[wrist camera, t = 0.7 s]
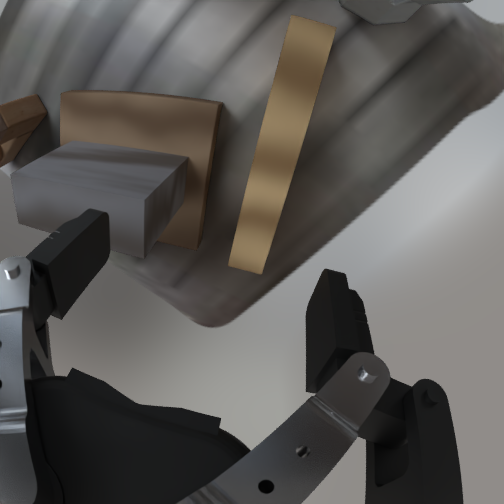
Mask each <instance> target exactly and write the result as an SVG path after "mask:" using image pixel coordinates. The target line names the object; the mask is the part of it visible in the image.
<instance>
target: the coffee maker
mask: <svg viewBox="0 0 504 504" xmlns="http://www.w3.org/2000/svg"><path fill="white" fill-rule="evenodd" d="M471 1H473V0H339V2H340V4H341V6H342V7H344V8H345V9H347V10H349V11H351V12H352V13H354V14H356V15H358V16H359V17H361V18H363V19H364V20H366V21H367V22H369V23H371V24H372V25H379V24H389V23H403V22H406V21H407V20H408V19H409V18H410V17H411V16H412V15H413V14H414V13H415V12H416V11H417V10H418V9H419V8H420V7H421V6H422V5H424V4H437V3H461V2H467V3H468V2H471Z"/></svg>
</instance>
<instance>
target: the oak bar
mask: <svg viewBox="0 0 504 504" xmlns="http://www.w3.org/2000/svg"><path fill="white" fill-rule="evenodd" d="M335 31H336V27H333V26H330V25H327V24H324V23H320V22H317V21H313V20H310V19H306V18H302V17H298V16H294V15H291V18H290V22H289V26H288V29H287V33H286V36H285V40H284V44H283V47H282V51H281V55H280V58H279V62H278V66H277V70H276V73H275V77H274V81H273V85H272V88H271V92H270V96H269V100H268V104H267V108H266V111H265V115H264V119H263V123H262V127H261V131H260V135H259V139H258V143H257V147H256V151H255V155H254V159H253V163H252V167H251V171H250V175H249V179H248V183H247V187H246V191H245V195H244V199H243V203H242V208H241V212H240V216H239V220H238V224H237V229H236V233H235V237H234V241H233V246H232V250H231V254H230V258H229V263H228V266H231V267H234V268H238V269H242V270H246V271H250V272H254V273H258V274H262V271H263V268H264V265H265V262H266V259H267V256H268V253H269V249H270V246H271V243H272V240H273V237H274V234H275V231H276V227H277V224H278V221H279V218H280V215H281V212H282V208H283V205H284V202H285V199H286V196H287V192H288V189H289V186H290V183H291V179H292V176H293V173H294V170H295V167H296V163H297V160H298V157H299V153H300V150H301V147H302V144H303V140H304V137H305V134H306V130H307V127H308V124H309V120H310V117H311V114H312V110H313V107H314V104H315V100H316V97H317V94H318V90H319V87H320V83H321V80H322V77H323V73H324V70H325V66H326V63H327V59H328V56H329V52H330V49H331V46H332V42H333V39H334V35H335Z"/></svg>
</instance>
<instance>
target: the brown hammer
mask: <svg viewBox="0 0 504 504" xmlns="http://www.w3.org/2000/svg"><path fill="white" fill-rule="evenodd" d="M46 114H47V110H46V109H45V107H44V105H43V104H42V102H41V100H40V99H39V97H38V95H37V94H34V95H31V96H27V97H24V98H21V99H17V100H14V101H11V102H8V103H5V104H2V105H0V167H2V166H4V165H5V164H7V163H9V162H11V161H13V160H14V158H15V157H16V155H17V154H18V152H19V151H20V149H21V148H22V146H23V145H24V143H25V142H26V141H27V139H28V138H29V137H30V135H31V134H32V132H33V131H34V129H36V127H37V126H38V125H39V123H40V122H41V121H42V119H43V118H44V117H45V116H46Z"/></svg>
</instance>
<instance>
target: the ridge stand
mask: <svg viewBox="0 0 504 504" xmlns="http://www.w3.org/2000/svg"><path fill="white" fill-rule="evenodd" d="M222 104H223V102H217V101H211V100H204V99H197V98H190V97H182V96H174V95H164V94H154V93H142V92H127V91H103V90H71V91H67V92H63V93H61V104H60V147H59V148H57V149H55V150H53V151H51V152H49V153H47V154H45V155H44V156H42V157H40V158H38V159H36V160H35V161H33V162H31V163H29V164H27V165H26V166H24V167H22V168H21V169H19V170H17V171H16V172H14V173H12V174H11V182H12V189H13V195H14V201H15V207H16V212H17V217H18V221H19V223H20V224H22V225H26V226H29V227H32V228H36V229H39V230H42V231H46V232H49V233H53V232H55V231H56V229H57V228H59V227H60V226H61V225H62V224H63V223H65V222H67V221H70V220H72V219H74V218H77V217H79V216H80V215H81V214H82V213H84V212H85V211H86V210H87V209H89V208H92V209H96V210H100V211H103V212H107V213H108V214H109V222H110V250H112V251H116V252H120V253H123V254H127V255H131V256H135V257H138V258H142V259H145V257H146V256H147V254H148V253H149V251H150V250H151V248H152V247H153V245H154V244H155V242H156V241H159V242H163V243H167V244H171V245H175V246H179V247H183V248H188V249H192V250H196V251H197V249H198V247H199V245H200V243H201V240H202V232H203V224H204V217H205V209H206V202H207V195H208V188H209V182H210V175H211V169H212V162H213V156H214V150H215V144H216V138H217V132H218V126H219V121H220V115H221V110H222Z"/></svg>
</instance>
